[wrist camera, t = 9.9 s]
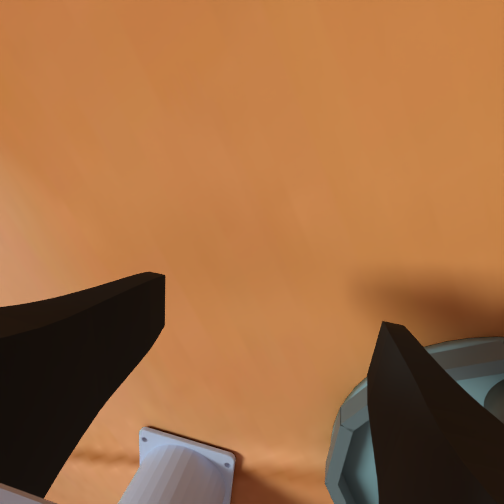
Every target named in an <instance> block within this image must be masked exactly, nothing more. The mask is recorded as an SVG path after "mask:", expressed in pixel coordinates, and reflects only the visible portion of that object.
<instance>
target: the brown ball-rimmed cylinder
mask: <svg viewBox="0 0 504 504" xmlns="http://www.w3.org/2000/svg"><path fill="white" fill-rule="evenodd" d="M484 408H485V409H487V410H488V411H489V412H490V413H491V414H493V415H494V416H495V417H496V418H497V419H499V420H500V421H501V422H502V423H503V424H504V379H503V380H501V381H500V382H498V383H497V384H495V385H494V386H493V387H492V388H491V389H490V390H489V391H488V393H487V395H486V397H485V400H484Z"/></svg>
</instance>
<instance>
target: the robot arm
mask: <svg viewBox="0 0 504 504" xmlns="http://www.w3.org/2000/svg"><path fill="white" fill-rule="evenodd" d="M164 326H165V275H162V274H158V273H153V272H144V273H140V274H136V275H132V276H129V277H126V278H122V279H119V280H116V281H113V282H109V283H106V284H103V285H100V286H96V287H93V288H89V289H86V290H82V291H78V292H75V293H71V294H68V295H64V296H60V297H56V298H51V299H47V300H42V301H37V302H31V303H26V304H20V305H13V306H6V307H0V504H57V503H54V502H51V501H48V500H46V499H44V497H45V495H46V494H47V492H48V490H49V489H50V487H51V485H52V484H53V482H54V480H55V479H56V477H57V475H58V474H59V472H60V470H61V469H62V467H63V466H64V464H65V462H66V461H67V459H68V458H69V456H70V455H71V453H72V451H73V450H74V448H75V447H76V445H77V444H78V442H79V441H80V439H81V437H82V436H83V434H84V433H85V432H86V430H87V429H88V427H89V426H90V424H91V423H92V421H93V420H94V418H95V417H96V415H97V414H98V412H99V411H100V410H101V408H102V407H103V406H104V404H105V403H106V402H107V401H108V399H109V398H110V397H111V396H112V394H113V393H114V392H115V391H116V390H117V389H118V387H119V386H120V385H121V384H122V383H123V381H124V380H125V379H126V378H127V377H128V375H129V374H130V373H131V372H132V371H133V370H134V368H135V367H136V366H137V365H138V364H139V362H140V361H141V360H142V359H143V357H144V356H145V355H146V354H147V353H148V351H149V350H150V349H151V347H152V346H153V344H154V343H155V341H156V339H157V338H158V336H159V334H160V333H161V331H162V329H163V328H164ZM367 406H368V414H369V422H370V430H371V437H372V445H373V452H374V459H375V467H376V474H377V484H378V496H379V504H504V424H503V423H502V422H501V421H500V420H499V419H497V418H496V417H495V416H494V415H493V414H491V413H490V412H489V411H488V410H487V409H485V408H484V407H483V406H482V405H481V404H480V403H478V402H477V401H476V400H475V399H474V398H473V397H472V396H471V395H469V394H468V393H467V392H466V391H465V390H464V389H463V388H462V387H461V386H460V385H459V384H458V383H457V382H456V381H455V380H454V379H453V378H452V377H451V376H450V375H449V374H448V373H447V372H446V371H445V370H444V369H443V368H442V367H441V366H440V365H439V364H438V363H437V362H436V360H435V359H434V358H433V357H432V356H431V355H430V354H429V353H428V352H427V351H426V350H425V348H424V347H423V346H422V345H421V344H420V343H419V342H418V341H417V339H416V338H415V337H414V336H413V335H412V334H411V333H410V332H409V331H408V329H407V328H406V327H405V326H403V325H399V324H394V323H389V322H385V321H382V325H381V328H380V332H379V335H378V339H377V342H376V346H375V349H374V353H373V356H372V360H371V363H370V367H369V370H368V374H367ZM139 449H140V467H139V469H138V470H137V472H136V474H135V475H134V477H133V479H132V480H131V482H130V484H129V485H128V487H127V489H126V491H125V492H124V494H123V496H122V497H121V499H120V501H119V502H118V504H230V501H231V492H232V484H233V476H234V468H235V459H236V458H235V455H234V454H233V453H231V452H228V451H225V450H221V449H218V448H215V447H211V446H208V445H205V444H202V443H198V442H195V441H192V440H188V439H185V438H182V437H178V436H175V435H172V434H168V433H165V432H162V431H158V430H155V429H152V428H148V427H142V428H141V430H140V431H139Z"/></svg>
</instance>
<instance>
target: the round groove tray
mask: <svg viewBox="0 0 504 504" xmlns="http://www.w3.org/2000/svg"><path fill="white" fill-rule="evenodd" d="M424 348H425V350H426V351H427V352H428V353H429V354H430V355H431V356H432V357H433V358H434V359H435V360H436V362H437V363H438V364H439V365H440V366H441V367H442V368H443V369H444V370H445V371H446V372H447V373H448V374H449V375H450V376H451V377H452V378H453V379H454V380H455V381H456V382H457V383H458V384H459V385H460V386H461V387H462V388H463V389H464V390H465V391H466V392H467V393H468V394H469V395H471V396H472V397H473V398H474V399H475V400H476V401H477V402H478V403H480V404H481V405H482V406H483V407H484V400H485V397H486V395H487V393H488V391H489V390H490V389H491V388H492V387H493V386H494V385H495V384H497V383H498V382H500V381H501V380H503V379H504V337H481V338H467V339H460V340H453V341H446V342H442V343H438V344H434V345H430V346H426V347H424ZM325 485H326V487H327V489H328V491H329V493H330V496H331V498H332V500H333V502H334V504H379V496H378V484H377V474H376V467H375V459H374V452H373V445H372V437H371V430H370V422H369V414H368V406H367V377H366V378H365V379H364V380H363V381H361V382H360V383H359V384H358V385H357V386H356V387H355V388H354V389H353V391H352V392H351V393H350V394H349V396H348V397H347V398H346V399H345V401H344V403H343V405H341V407H340V410H339V412H338V414H337V417H336V420H335V422H334V425H333V430H332V436H331V445H330V448H329V452H328V456H327V460H326V471H325Z"/></svg>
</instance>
